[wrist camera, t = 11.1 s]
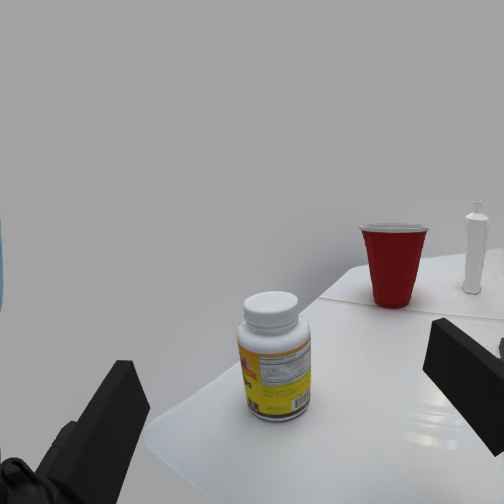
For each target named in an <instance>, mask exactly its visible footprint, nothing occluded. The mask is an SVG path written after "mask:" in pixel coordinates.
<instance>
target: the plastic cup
mask: <svg viewBox="0 0 504 504" xmlns="http://www.w3.org/2000/svg"><path fill="white" fill-rule="evenodd" d="M359 228H360V230H361V231H362V234H363V238H364V240H365V246H366V249H367V255H368V261H369V269H370V276H371V281H372V287H373V296H374V299H375V303H376V304H378V305H379V306H382V307H385V308H401V307H405V306H406V305H408V303H409V300H410V298H411V295H412V290H413V286H414V283H415V280H416V276H417V271H418V267H419V262H420V257H421V252H422V248H423V244H424V240H425V235H426V233H427V231H428V229H429V226H427V225H420V224H408V223H377V224H364V225H360V226H359Z"/></svg>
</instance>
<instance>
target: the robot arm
mask: <svg viewBox="0 0 504 504" xmlns="http://www.w3.org/2000/svg"><path fill="white" fill-rule="evenodd" d="M2 300H3V259H2V240H1V223H0V311H1V306H2ZM423 371H424V372H425V373H426V374H427V375H428V377H429V378H430V379H431V380H432V381H433V382H434V383H435V385H436V386H437V387H438V388H439V389H440V390H441V391H442V393H443V394H444V395H445V396H446V397H447V398H448V400H449V401H450V402H451V403H452V404H453V406H454V407H455V408H456V409H457V410H458V411H459V413H460V414H461V415H462V416H463V417H464V419H465V420H466V421H467V422H468V424H469V425H470V426H471V427H472V428H473V430H474V431H475V432H476V433H477V435H478V436H479V437H480V438H481V440H482V441H483V442H484V443H485V445H486V446H487V447H488V449H489V450H490V451H491V452H492V454H493V455H494V456H495V457H496V456H497V455H499V454H500V453H502V452H503V451H504V360H503V359H500V358H499V359H498V358H497V357H495V356H494V355H493V354H492V353H490V352H489V351H488V350H486V349H485V348H484V347H483V346H481V345H480V344H479V343H477V342H476V341H475V340H474V339H472V338H471V337H470V336H468V335H467V334H466V333H464V332H463V331H462V330H460V329H459V328H458V327H456V326H455V325H454V324H452V323H451V322H450V321H448V320H447V319H446V318H441V319H438V320H434V321H432V325H431V331H430V337H429V342H428V347H427V352H426V357H425V361H424V365H423ZM149 410H150V406H149V403H148V401H147V399H146V396H145V393H144V391H143V388H142V386H141V383H140V381H139V378H138V376H137V373H136V370H135V367H134V364H133V362H132V361H127V360H117V361H116V362H115V364H114V365H113V367H112V368H111V370H110V371H109V373H108V374H107V376H106V377H105V379H104V380H103V382H102V383H101V385H100V387H99V388H98V390H97V391H96V393H95V394H94V396H93V398H92V399H91V401H90V402H89V404H88V405H87V407H86V409H85V410H84V412H83V413H82V415H81V416H80V418H79V420H78V421H77V422H75V421H71V422H69V423H68V424H67V425H65V426H64V427H63V428H62V429H61V431H60V432H59V434H58V435H57V437H56V439H55V440H54V442H53V443H52V447H50V448H49V450H48V451H47V453H46V455H45V456H44V458H43V460H42V461H41V463H40V465H39V466H38V468H37V470H36V471H35V473H34V472H33V471H32V470H31V469H30V467H29V466H28V465H27V464H26V463H25V462H24V461H23V460H22V459H19V458H16V457H15V458H9V459H6V460H4V461H3V462H2V463H1V464H0V504H116V503H117V500H118V496H119V494H120V491H121V488H122V485H123V482H124V479H125V476H126V473H127V470H128V467H129V464H130V461H131V458H132V456H133V453H134V450H135V448H136V444H137V442H138V439H139V436H140V434H141V431H142V429H143V426H144V423H145V420H146V418H147V415H148V412H149Z"/></svg>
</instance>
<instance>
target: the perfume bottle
mask: <svg viewBox="0 0 504 504" xmlns="http://www.w3.org/2000/svg"><path fill="white" fill-rule="evenodd" d="M465 222H466V264H465V280H464V283H463V285H462V289H463V291H464V292H466V293H472V294H477V293H478V292H480V291H481V285H480V280H481V275H482V270H483V264H484V258H485V251H486V244H487V235H488V226H489V218H487V217H486V216H485V215H484V214H482V201H473V200H472V213H471V214H469V215H467V216H466V217H465Z"/></svg>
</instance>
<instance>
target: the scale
mask: <svg viewBox="0 0 504 504" xmlns="http://www.w3.org/2000/svg"><path fill="white" fill-rule="evenodd" d="M499 348H500V354H501V359H503V360H504V338H502V339H501V342H500V345H499Z"/></svg>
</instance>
